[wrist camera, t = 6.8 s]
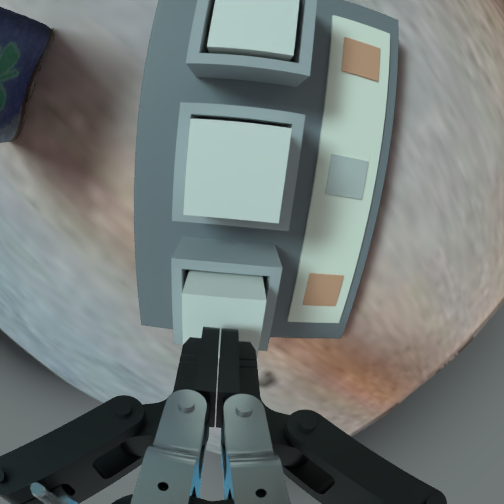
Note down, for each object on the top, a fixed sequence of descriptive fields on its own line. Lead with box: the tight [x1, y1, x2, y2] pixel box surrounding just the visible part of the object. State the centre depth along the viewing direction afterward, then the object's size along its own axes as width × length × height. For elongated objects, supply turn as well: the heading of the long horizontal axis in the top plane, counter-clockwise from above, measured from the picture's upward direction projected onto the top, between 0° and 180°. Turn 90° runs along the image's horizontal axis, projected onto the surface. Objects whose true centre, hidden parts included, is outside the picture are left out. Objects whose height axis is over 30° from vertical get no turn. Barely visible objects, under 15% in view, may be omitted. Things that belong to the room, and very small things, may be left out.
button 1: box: [182, 270, 267, 359], centre depth 14 cm, size 4×4×3 cm
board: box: [134, 0, 398, 351], centre depth 14 cm, size 22×14×5 cm, turn 174°
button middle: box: [183, 119, 292, 223], centre depth 11 cm, size 4×4×3 cm
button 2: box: [207, 0, 299, 62], centre depth 10 cm, size 4×4×3 cm
